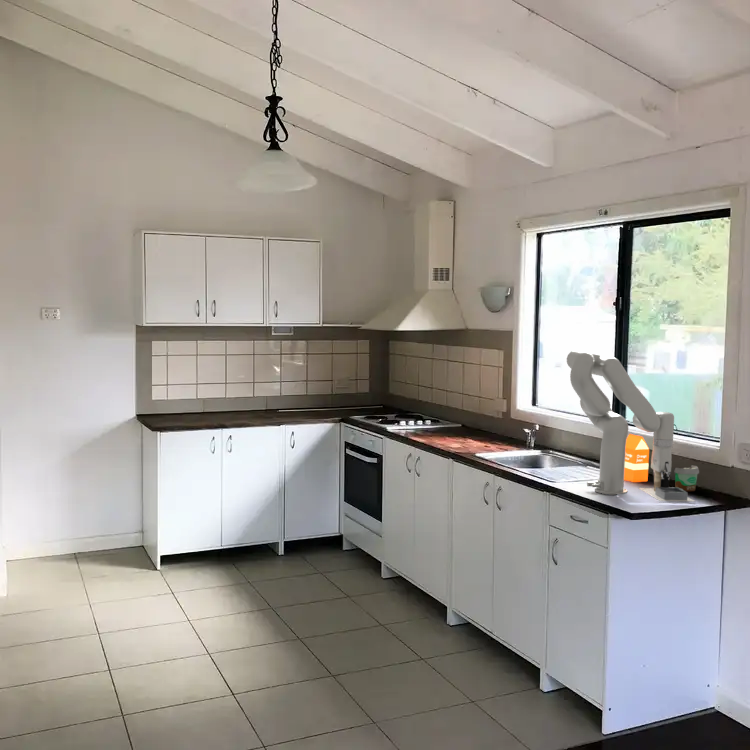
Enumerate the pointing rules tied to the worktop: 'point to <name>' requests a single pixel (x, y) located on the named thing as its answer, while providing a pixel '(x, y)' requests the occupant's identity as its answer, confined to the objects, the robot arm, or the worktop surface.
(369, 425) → the worktop surface
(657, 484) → the plug
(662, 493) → the grey square tray
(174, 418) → the worktop surface
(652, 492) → the board
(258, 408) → the worktop surface
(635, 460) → the orange juice
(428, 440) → the worktop surface
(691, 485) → the food container
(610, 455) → the robot arm
